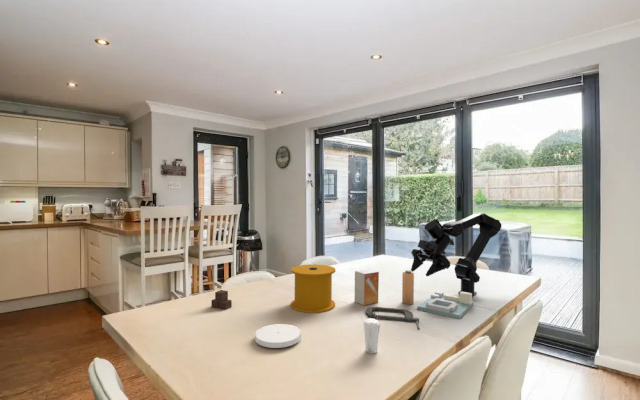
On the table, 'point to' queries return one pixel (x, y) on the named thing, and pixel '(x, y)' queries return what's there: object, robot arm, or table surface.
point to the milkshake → (371, 335)
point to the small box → (366, 286)
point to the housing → (444, 306)
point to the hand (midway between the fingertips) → (418, 273)
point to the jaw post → (408, 288)
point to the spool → (313, 288)
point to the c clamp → (407, 317)
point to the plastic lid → (278, 335)
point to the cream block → (460, 298)
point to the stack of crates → (221, 300)
